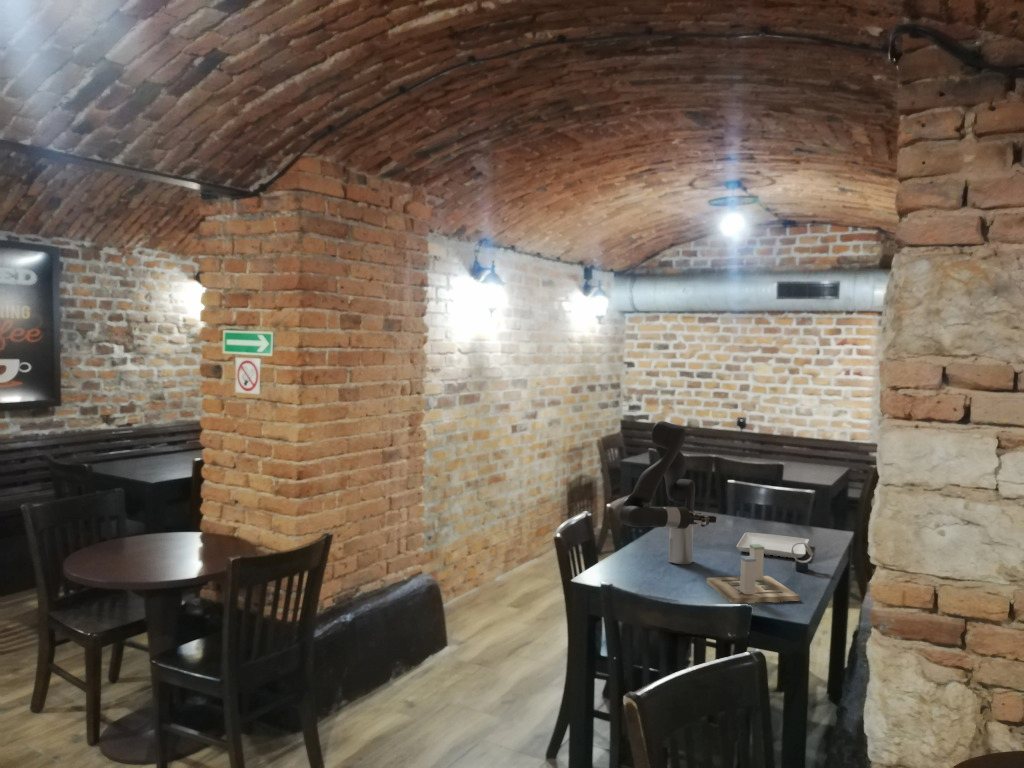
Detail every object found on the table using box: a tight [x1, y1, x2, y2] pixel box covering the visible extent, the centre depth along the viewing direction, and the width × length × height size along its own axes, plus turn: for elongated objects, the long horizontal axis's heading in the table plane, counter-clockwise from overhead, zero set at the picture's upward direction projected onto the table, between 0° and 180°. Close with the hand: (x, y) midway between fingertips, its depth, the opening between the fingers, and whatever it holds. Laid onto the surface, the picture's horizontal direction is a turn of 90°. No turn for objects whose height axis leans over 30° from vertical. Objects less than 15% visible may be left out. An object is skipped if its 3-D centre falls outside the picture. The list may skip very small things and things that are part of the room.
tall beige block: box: [749, 544, 765, 580], centre depth 276 cm, size 4×4×12 cm
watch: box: [791, 541, 814, 573], centre depth 295 cm, size 6×8×11 cm
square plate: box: [736, 532, 810, 559], centre depth 324 cm, size 27×27×4 cm
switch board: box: [706, 575, 800, 604], centre depth 269 cm, size 24×22×2 cm
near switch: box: [739, 555, 756, 594], centre depth 261 cm, size 4×4×12 cm
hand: (715, 519), depth 274 cm, fingers closed
